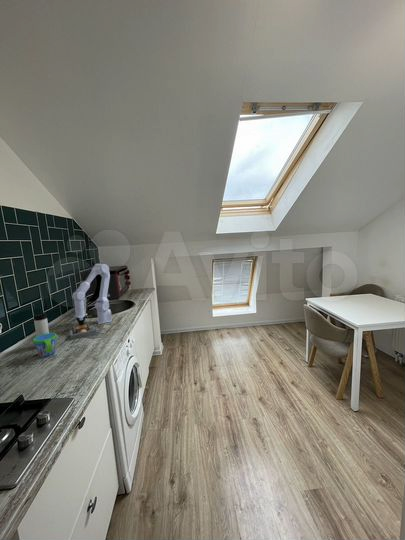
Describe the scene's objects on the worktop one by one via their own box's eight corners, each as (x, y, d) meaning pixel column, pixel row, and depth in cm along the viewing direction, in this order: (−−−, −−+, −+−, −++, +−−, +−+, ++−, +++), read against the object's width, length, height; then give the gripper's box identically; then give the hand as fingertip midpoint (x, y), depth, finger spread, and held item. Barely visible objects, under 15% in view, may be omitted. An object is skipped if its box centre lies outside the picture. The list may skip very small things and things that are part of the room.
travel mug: (44, 348, 132) (40, 315, 129) (35, 347, 133) (30, 314, 130) (53, 343, 138) (49, 311, 135) (44, 342, 139) (40, 311, 136)
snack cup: (34, 352, 127) (32, 335, 126) (56, 346, 134) (54, 329, 132) (36, 363, 115) (33, 344, 114) (60, 356, 122) (58, 338, 120)
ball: (87, 336, 149) (86, 330, 151) (87, 333, 146) (86, 327, 148) (80, 337, 147) (79, 332, 149) (80, 334, 144) (79, 329, 146)
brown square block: (86, 328, 159) (86, 324, 159) (87, 331, 154) (87, 326, 154) (77, 330, 156) (76, 326, 156) (77, 333, 151) (77, 328, 151)
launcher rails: (88, 324, 168) (88, 322, 168) (90, 329, 157) (90, 328, 157) (73, 327, 163) (73, 325, 163) (74, 333, 152) (74, 331, 152)
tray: (94, 329, 157) (94, 325, 156) (96, 334, 149) (95, 330, 149) (70, 335, 149) (70, 330, 149) (71, 340, 141) (70, 335, 141)
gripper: (72, 307, 161) (74, 325, 163) (73, 312, 149) (75, 332, 150) (83, 305, 165) (85, 323, 166) (85, 310, 152) (87, 329, 154)
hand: (81, 327), depth 159 cm, fingers closed
